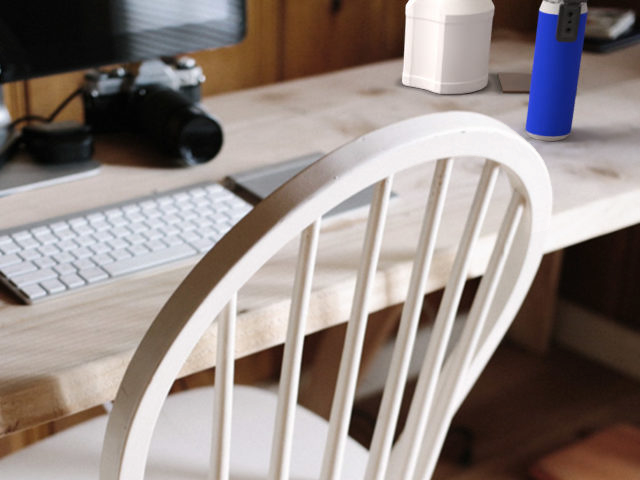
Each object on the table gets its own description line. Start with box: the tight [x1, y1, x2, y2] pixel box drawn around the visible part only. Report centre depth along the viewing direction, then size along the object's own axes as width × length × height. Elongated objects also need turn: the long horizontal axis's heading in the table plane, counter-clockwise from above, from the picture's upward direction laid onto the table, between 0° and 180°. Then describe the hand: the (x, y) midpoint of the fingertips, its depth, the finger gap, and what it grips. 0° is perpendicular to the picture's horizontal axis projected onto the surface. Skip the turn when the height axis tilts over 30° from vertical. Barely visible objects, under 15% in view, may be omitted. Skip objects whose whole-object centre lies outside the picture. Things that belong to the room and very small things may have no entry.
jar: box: [401, 0, 495, 95], centre depth 136 cm, size 12×10×15 cm
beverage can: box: [525, 0, 589, 142], centre depth 116 cm, size 5×5×15 cm
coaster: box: [496, 72, 532, 94], centre depth 139 cm, size 9×9×1 cm
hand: (560, 32), depth 114 cm, fingers open, 8 cm apart
